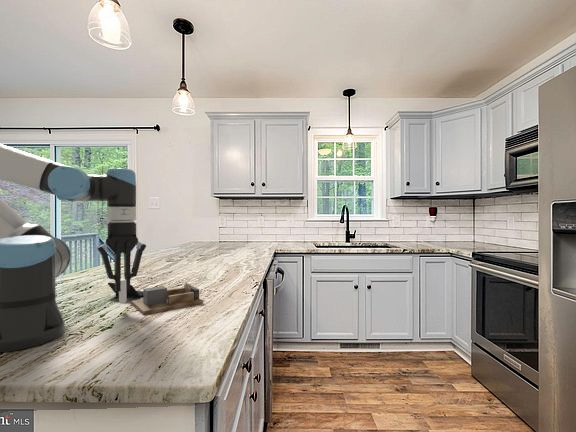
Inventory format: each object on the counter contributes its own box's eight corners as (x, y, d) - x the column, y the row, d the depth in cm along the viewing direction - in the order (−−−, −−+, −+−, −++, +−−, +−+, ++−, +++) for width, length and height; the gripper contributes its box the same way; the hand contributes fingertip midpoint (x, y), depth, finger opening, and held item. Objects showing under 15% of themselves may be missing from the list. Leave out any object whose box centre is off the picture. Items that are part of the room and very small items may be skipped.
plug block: (146, 306, 95) (146, 291, 95) (143, 303, 98) (143, 288, 98) (167, 302, 99) (167, 288, 99) (163, 299, 102) (163, 285, 102)
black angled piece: (155, 288, 115) (141, 270, 109) (146, 305, 109) (131, 286, 103) (128, 291, 117) (113, 273, 111) (118, 307, 111) (101, 289, 106)
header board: (143, 314, 90) (143, 296, 90) (131, 303, 101) (131, 287, 100) (203, 303, 101) (203, 286, 101) (186, 294, 112) (186, 279, 112)
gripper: (98, 222, 85) (99, 308, 86) (149, 221, 94) (149, 300, 94) (94, 221, 91) (95, 302, 91) (142, 221, 99) (142, 295, 100)
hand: (122, 301), depth 93 cm, fingers closed
